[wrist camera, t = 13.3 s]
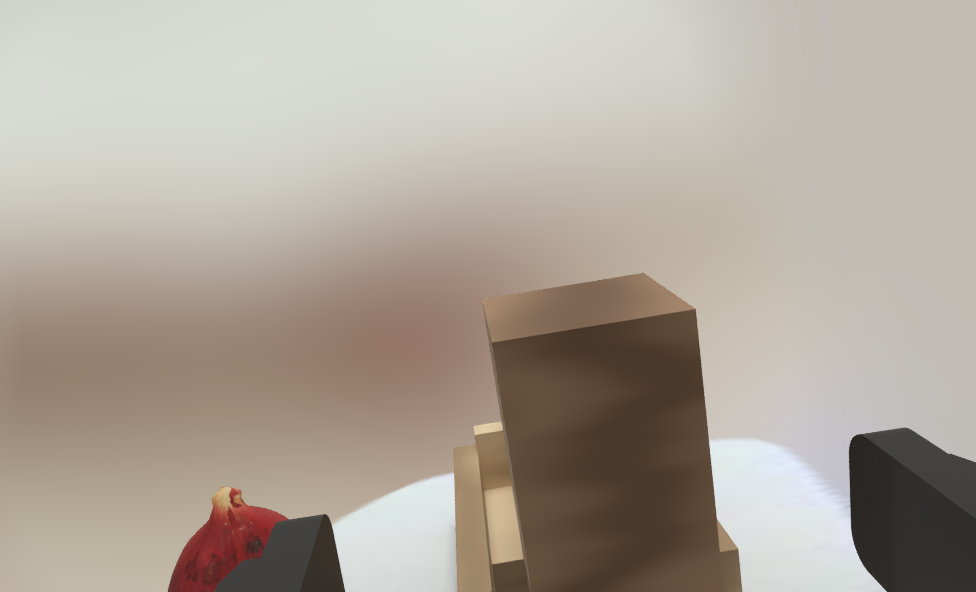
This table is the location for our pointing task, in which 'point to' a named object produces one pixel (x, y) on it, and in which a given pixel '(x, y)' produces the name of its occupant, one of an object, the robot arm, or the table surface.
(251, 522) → the onion
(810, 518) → the table surface
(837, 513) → the table surface
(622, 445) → the post
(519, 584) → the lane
